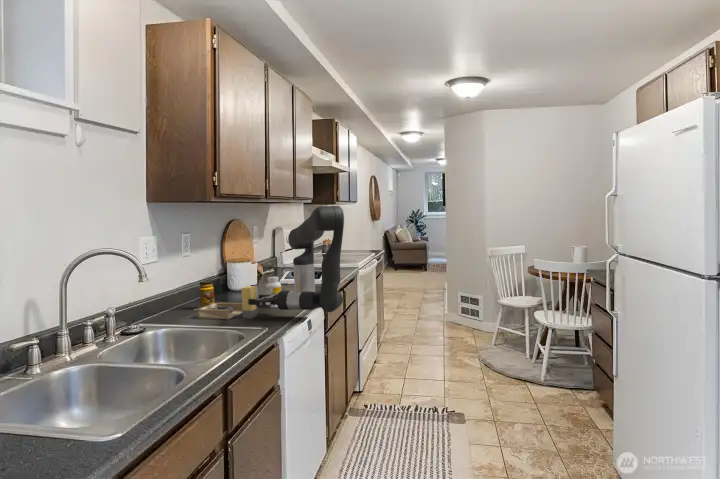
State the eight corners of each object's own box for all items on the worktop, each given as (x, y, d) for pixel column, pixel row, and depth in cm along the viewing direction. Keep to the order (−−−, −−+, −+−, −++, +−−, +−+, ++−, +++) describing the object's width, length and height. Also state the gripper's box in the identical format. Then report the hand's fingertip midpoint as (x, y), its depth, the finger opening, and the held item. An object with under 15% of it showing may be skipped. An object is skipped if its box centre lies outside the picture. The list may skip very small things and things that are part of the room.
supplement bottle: (284, 304, 214) (283, 276, 213) (278, 308, 208) (276, 278, 207) (271, 304, 216) (269, 276, 215) (264, 307, 210) (262, 278, 209)
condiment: (212, 309, 210) (210, 282, 209) (193, 310, 210) (191, 283, 209) (218, 306, 217) (216, 279, 216) (199, 306, 218) (198, 280, 217)
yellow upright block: (248, 315, 196) (246, 286, 195) (256, 315, 194) (255, 286, 194) (243, 317, 192) (241, 288, 191) (252, 318, 191) (250, 288, 190)
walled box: (216, 310, 208) (216, 302, 207) (245, 311, 204) (245, 303, 203) (197, 318, 194) (196, 309, 194) (227, 319, 190) (227, 310, 190)
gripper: (298, 287, 194) (261, 287, 199) (283, 294, 180) (244, 293, 185) (299, 305, 195) (262, 305, 199) (284, 314, 181) (245, 312, 185)
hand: (254, 299), depth 192 cm, fingers open, 8 cm apart
